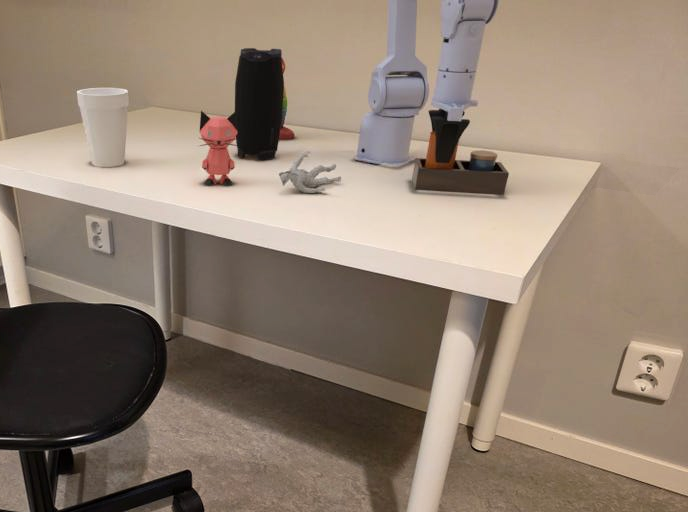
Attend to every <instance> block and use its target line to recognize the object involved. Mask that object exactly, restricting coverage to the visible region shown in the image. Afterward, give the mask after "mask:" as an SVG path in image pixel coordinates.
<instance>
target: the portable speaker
mask: <svg viewBox="0 0 688 512" xmlns="http://www.w3.org/2000/svg"><path fill="white" fill-rule="evenodd" d="M282 54H283V53H282V49H281V48H271V49H269V50H267V49H265V50H263V49H257V48H255V47H245V48H242V49H240V54H239V56H238V63H237V70H236V75H235V76H236V77H235V81H234V82H235V83H234V112H235V111H237V126H238V133H237V135H236V137H235V140H236V141H235V142H236V145H239V146H236V148H237V157H238V158H240V159H245V157H246V156H251V157H256V158H257V160H259V161H267V160H268V161H269V160H273V159H275V156H276V154H277V152H278V147H279V143H280V142H279V141H280V139H279V136H280V130H281V123H282V115H283V95H284V87H285V80H284V79H285V78H284V73H283V69H282V59H281V57H282V56H283V55H282ZM236 138H238V139H236Z"/></svg>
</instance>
